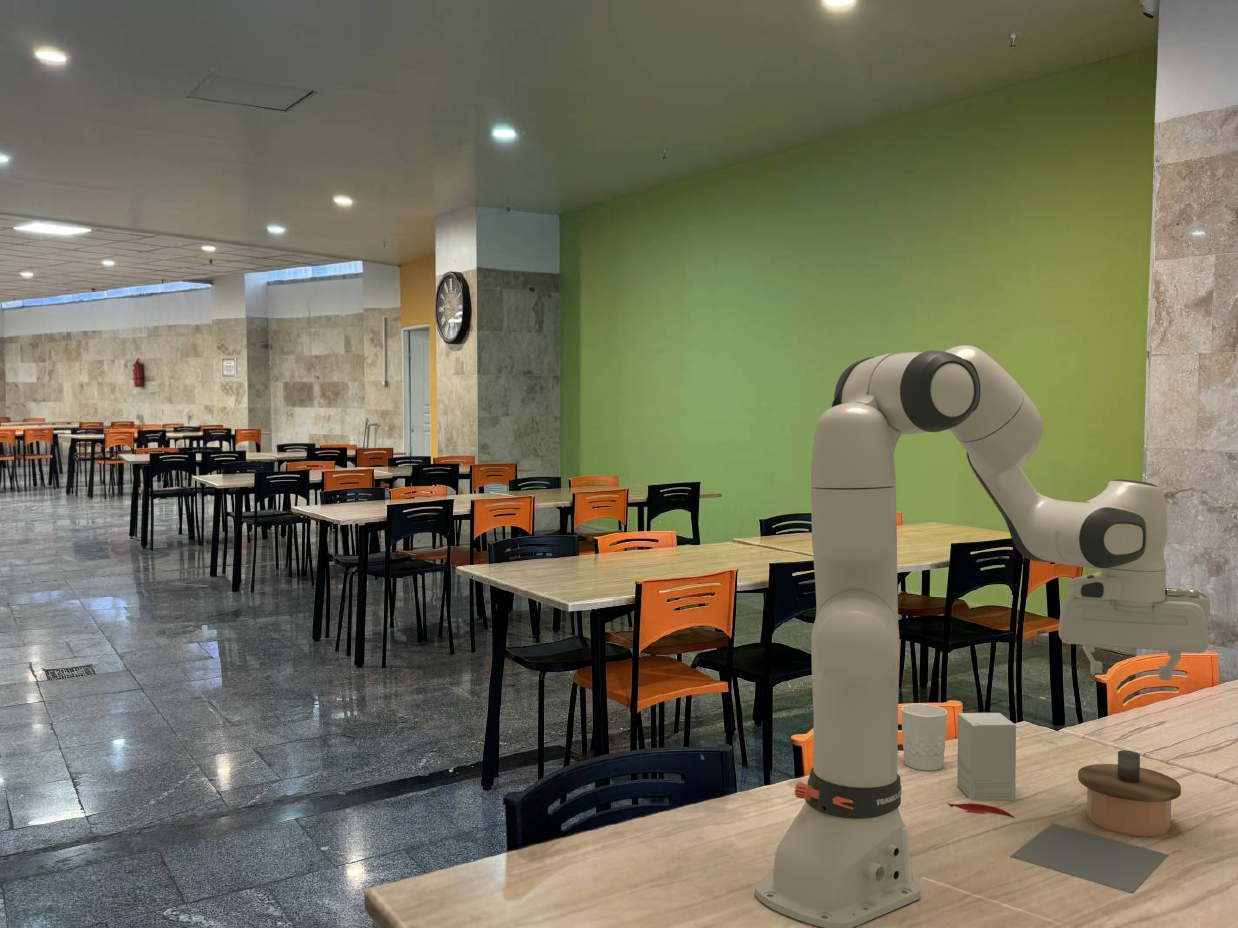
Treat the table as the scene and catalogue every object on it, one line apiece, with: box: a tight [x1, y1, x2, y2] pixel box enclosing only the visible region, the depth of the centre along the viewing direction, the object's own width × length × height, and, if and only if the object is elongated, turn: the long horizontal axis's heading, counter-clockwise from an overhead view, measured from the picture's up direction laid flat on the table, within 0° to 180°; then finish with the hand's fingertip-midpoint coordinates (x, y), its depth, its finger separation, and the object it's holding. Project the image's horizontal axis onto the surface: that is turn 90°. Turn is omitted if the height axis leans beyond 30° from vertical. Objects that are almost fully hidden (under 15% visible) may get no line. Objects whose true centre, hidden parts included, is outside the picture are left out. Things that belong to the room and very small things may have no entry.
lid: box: [1077, 749, 1182, 802], centre depth 152 cm, size 14×14×5 cm
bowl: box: [1086, 787, 1172, 837], centre depth 152 cm, size 11×11×6 cm
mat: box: [1009, 823, 1169, 894], centre depth 140 cm, size 16×16×1 cm
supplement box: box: [956, 712, 1017, 801], centre depth 164 cm, size 7×7×13 cm
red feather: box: [947, 802, 1016, 819], centre depth 156 cm, size 12×5×2 cm, turn 41°
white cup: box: [900, 703, 948, 772], centre depth 178 cm, size 8×8×10 cm
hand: (1130, 676), depth 151 cm, fingers open, 8 cm apart
